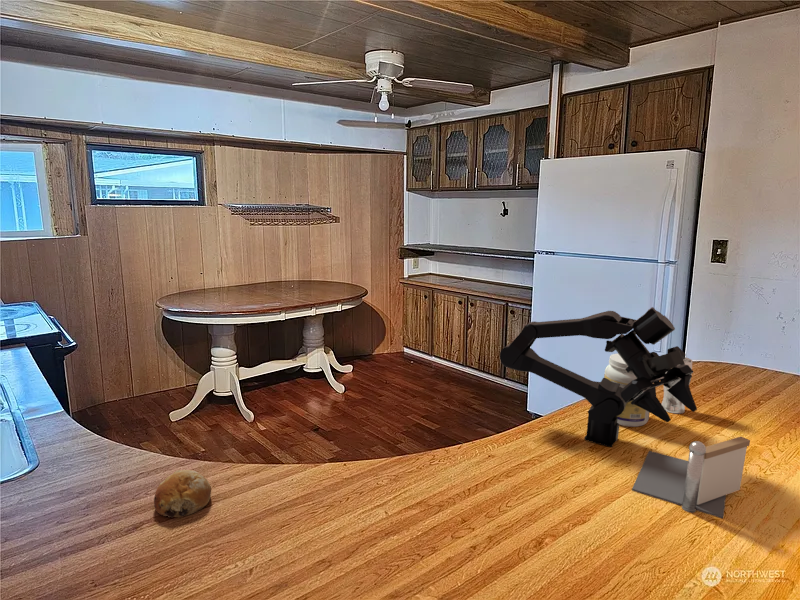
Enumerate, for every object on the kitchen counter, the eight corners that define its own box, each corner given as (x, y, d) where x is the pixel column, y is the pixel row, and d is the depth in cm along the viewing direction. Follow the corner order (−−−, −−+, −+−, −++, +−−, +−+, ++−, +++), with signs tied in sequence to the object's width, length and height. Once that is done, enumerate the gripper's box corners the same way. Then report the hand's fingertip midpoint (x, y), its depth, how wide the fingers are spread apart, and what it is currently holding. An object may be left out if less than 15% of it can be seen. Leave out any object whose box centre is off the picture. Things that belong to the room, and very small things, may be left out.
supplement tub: (610, 405, 150) (617, 349, 147) (655, 418, 142) (662, 359, 138) (592, 417, 141) (598, 358, 138) (638, 432, 133) (646, 369, 130)
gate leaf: (698, 505, 100) (706, 453, 98) (690, 500, 102) (697, 449, 100) (741, 490, 106) (750, 440, 104) (733, 485, 108) (741, 436, 105)
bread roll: (217, 516, 101) (226, 474, 103) (181, 524, 92) (192, 477, 93) (176, 506, 104) (186, 464, 106) (137, 512, 95) (149, 466, 96)
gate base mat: (631, 490, 107) (632, 488, 106) (648, 452, 123) (649, 450, 123) (723, 518, 98) (723, 516, 98) (728, 473, 114) (728, 471, 114)
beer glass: (689, 415, 144) (697, 363, 141) (662, 413, 146) (669, 361, 143) (681, 405, 151) (688, 356, 148) (656, 403, 152) (662, 354, 149)
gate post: (690, 514, 99) (700, 446, 96) (677, 506, 101) (686, 440, 98) (700, 511, 100) (710, 443, 97) (686, 503, 102) (696, 437, 100)
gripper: (631, 344, 110) (681, 408, 102) (685, 329, 119) (735, 387, 111) (601, 372, 118) (645, 433, 110) (654, 356, 127) (698, 412, 119)
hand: (682, 415), depth 112 cm, fingers open, 9 cm apart
